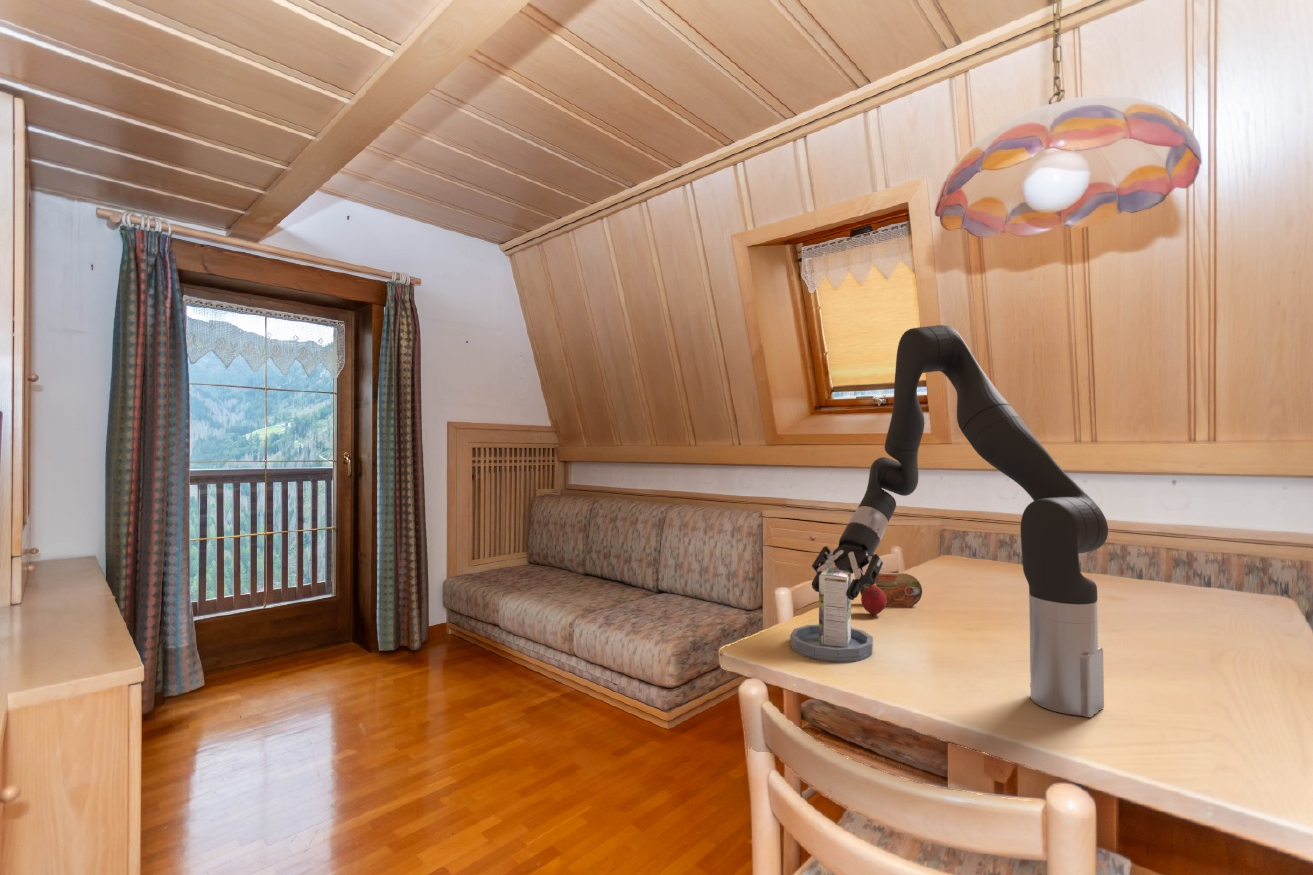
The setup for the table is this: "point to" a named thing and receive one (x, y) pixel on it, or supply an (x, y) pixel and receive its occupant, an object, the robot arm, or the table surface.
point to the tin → (898, 589)
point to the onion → (873, 600)
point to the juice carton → (834, 608)
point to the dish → (808, 646)
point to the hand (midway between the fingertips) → (831, 593)
